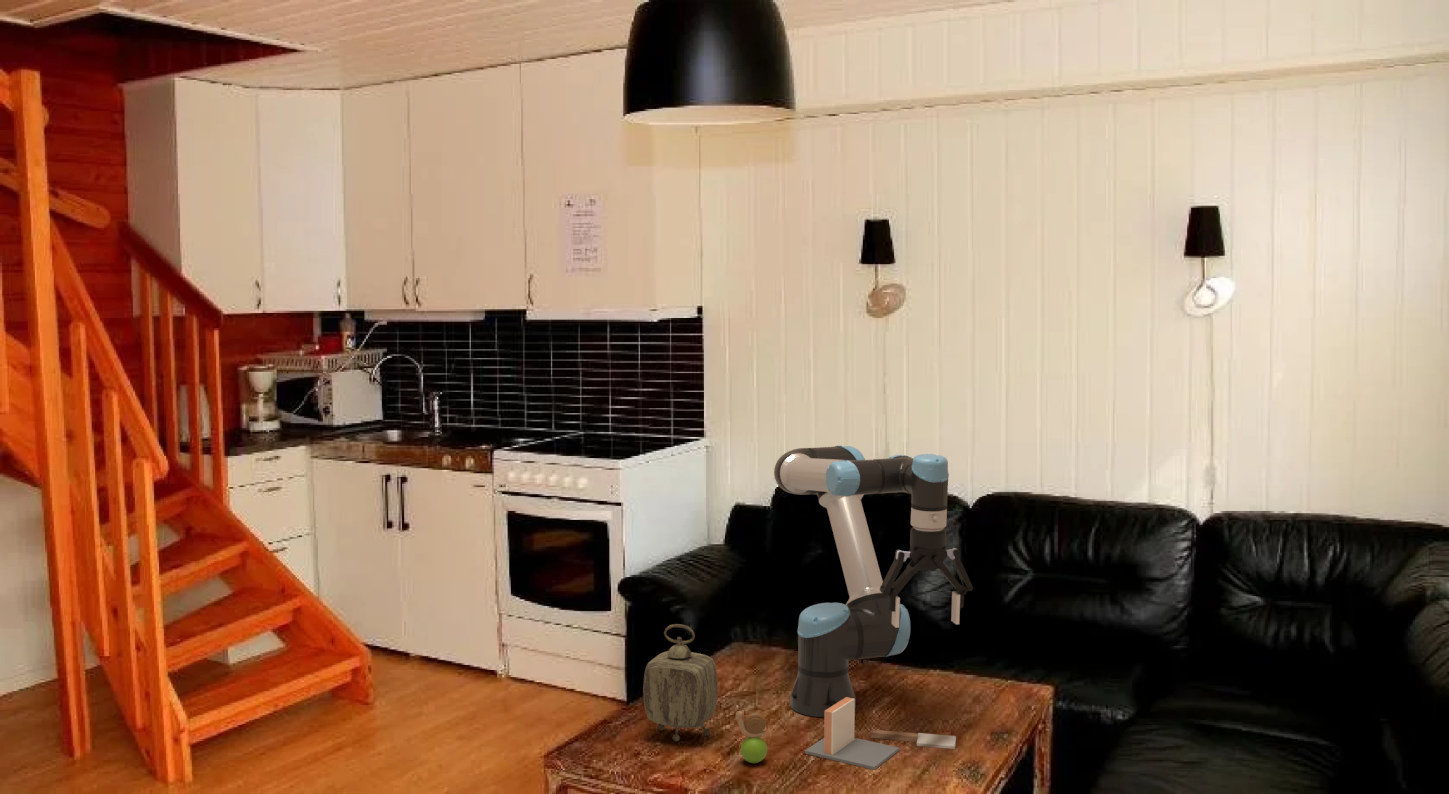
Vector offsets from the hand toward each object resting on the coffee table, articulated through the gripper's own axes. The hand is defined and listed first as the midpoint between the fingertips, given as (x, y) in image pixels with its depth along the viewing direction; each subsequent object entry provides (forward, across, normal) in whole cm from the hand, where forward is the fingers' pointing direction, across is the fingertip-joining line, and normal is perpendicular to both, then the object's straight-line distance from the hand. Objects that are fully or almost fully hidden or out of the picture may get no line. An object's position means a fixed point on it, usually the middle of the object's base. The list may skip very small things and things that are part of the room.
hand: (925, 624), depth 259 cm
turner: (+24, -3, -3) cm, 25 cm away
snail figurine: (+25, -40, -8) cm, 48 cm away
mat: (+24, -18, -7) cm, 31 cm away
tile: (+24, -20, -5) cm, 32 cm away
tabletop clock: (+25, -52, +8) cm, 59 cm away
